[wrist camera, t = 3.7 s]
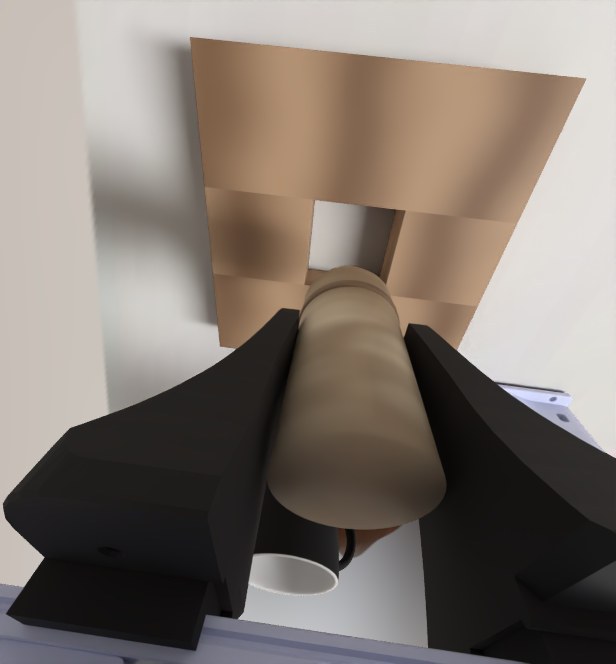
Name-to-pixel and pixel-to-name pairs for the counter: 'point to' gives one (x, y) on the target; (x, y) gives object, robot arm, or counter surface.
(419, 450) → the peg
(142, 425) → the robot arm
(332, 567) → the mug
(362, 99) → the board
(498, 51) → the counter surface
